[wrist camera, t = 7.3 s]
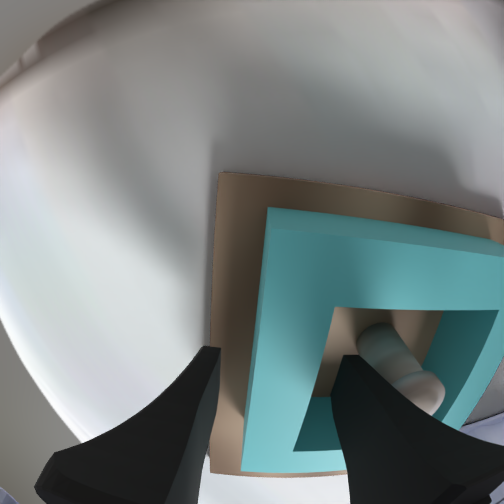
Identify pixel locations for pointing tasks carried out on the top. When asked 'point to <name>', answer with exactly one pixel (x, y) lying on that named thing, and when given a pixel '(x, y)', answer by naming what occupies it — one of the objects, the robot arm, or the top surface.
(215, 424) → the peg board
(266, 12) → the top surface
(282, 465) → the loop
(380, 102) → the top surface
